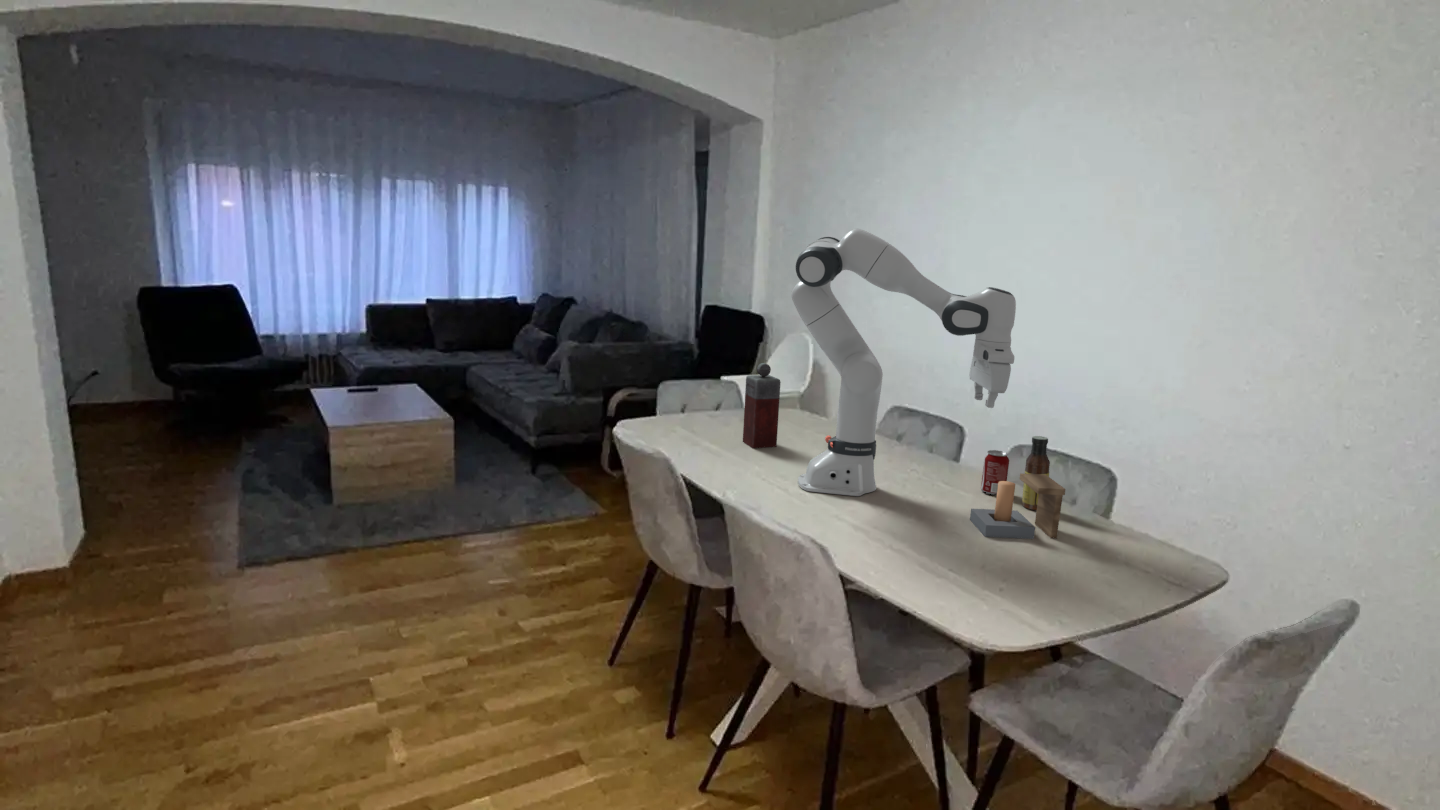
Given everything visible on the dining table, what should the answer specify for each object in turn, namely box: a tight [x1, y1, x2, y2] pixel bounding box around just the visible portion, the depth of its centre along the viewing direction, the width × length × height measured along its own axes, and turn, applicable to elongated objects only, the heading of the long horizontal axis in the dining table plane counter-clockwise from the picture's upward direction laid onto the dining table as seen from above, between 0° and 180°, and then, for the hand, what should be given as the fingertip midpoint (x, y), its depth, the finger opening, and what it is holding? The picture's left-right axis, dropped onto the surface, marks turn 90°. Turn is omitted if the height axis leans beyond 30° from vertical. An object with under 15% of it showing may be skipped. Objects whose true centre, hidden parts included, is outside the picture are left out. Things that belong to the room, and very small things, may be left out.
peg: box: [994, 480, 1016, 522], centre depth 197 cm, size 4×4×12 cm
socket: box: [969, 508, 1036, 540], centre depth 198 cm, size 12×12×3 cm
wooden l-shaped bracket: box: [1019, 472, 1066, 539], centre depth 197 cm, size 6×12×13 cm, turn 0°
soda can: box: [980, 449, 1010, 496], centre depth 227 cm, size 7×7×12 cm
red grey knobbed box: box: [742, 362, 782, 449], centre depth 268 cm, size 9×11×28 cm
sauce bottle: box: [1021, 435, 1051, 511], centre depth 214 cm, size 7×6×20 cm
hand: (983, 403), depth 207 cm, fingers open, 8 cm apart
